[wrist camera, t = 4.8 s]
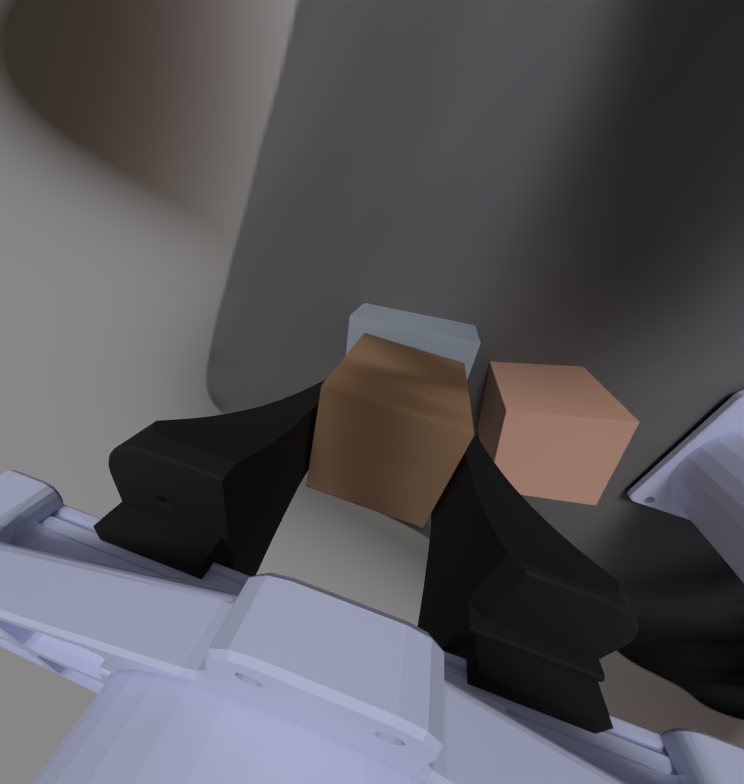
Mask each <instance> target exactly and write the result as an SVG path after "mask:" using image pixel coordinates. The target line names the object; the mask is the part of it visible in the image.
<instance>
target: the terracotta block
mask: <svg viewBox="0 0 744 784" xmlns="http://www.w3.org/2000/svg"><path fill="white" fill-rule="evenodd" d="M638 424H639V421H638V420H637V419H636V418H635V417H634V416H633V415H632V414H631V413H630V412H629V411H628V410H627V409H626V408H625V407H624V406H623V405H622V404H621V403H620V402H619V401H618V400H617V399H616V398H615V397H614V396H613V395H612V394H611V393H610V392H609V391H608V390H607V389H606V388H605V387H604V386H603V385H602V384H601V383H600V382H599V381H598V380H597V379H595V378H594V377H593V376H592V375H591V374H590V373H589V372H588V371H587V370H586V369H585V368H584V367H583V366H564V365H545V364H526V363H507V362H490V364H489V370H488V375H487V380H486V386H485V391H484V397H483V402H482V408H481V413H480V419H479V424H478V433H479V439H480V441H481V443H482V444H483V446H484V448H485V449H486V451H487V452H488V454H489V455H490V457H491V458H492V460H493V461H494V462H495V464H496V465H497V466H498V468H499V469H500V471H501V472H502V473H503V475H504V476H505V477H506V478H507V480H508V481H509V482H510V483H511V484H512V486H513V487H514V488H515V489H516V490H517V491H518V493H519V494H520V495H526V496H533V497H540V498H547V499H554V500H561V501H568V502H575V503H582V504H589V505H596V504H597V502H598V500H599V498H600V496H601V494H602V493H603V491H604V489H605V487H606V485H607V483H608V481H609V479H610V477H611V476H612V474H613V472H614V470H615V468H616V466H617V464H618V462H619V460H620V458H621V457H622V455H623V453H624V451H625V449H626V447H627V445H628V443H629V441H630V439H631V438H632V436H633V434H634V432H635V430H636V428H637V426H638Z"/></svg>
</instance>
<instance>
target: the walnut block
mask: <svg viewBox="0 0 744 784" xmlns="http://www.w3.org/2000/svg"><path fill="white" fill-rule="evenodd" d="M474 435H475V434H474V427H473V420H472V413H471V406H470V399H469V392H468V384H467V377H466V370H465V363H462V362H459V361H456V360H452V359H449V358H446V357H442V356H439V355H436V354H433V353H429V352H426V351H423V350H420V349H416V348H413V347H410V346H406V345H403V344H400V343H397V342H393V341H390V340H387V339H383V338H380V337H377V336H374V335H370V334H367V333H364V334H363V335H362V336H361V338H360V339H359V340H358V341H357V342H356V344H355V345H354V346H353V347H352V349H351V350H350V351H349V352H348V353H347V355H346V356H345V357H344V358H343V360H342V361H341V362H340V363H339V364H338V366H337V367H336V368H335V369H334V370H333V372H332V373H331V374H330V375H329V377H328V378H327V379H326V380H325V381H324V383H323V384H322V386H321V392H320V399H319V405H318V412H317V418H316V425H315V431H314V438H313V445H312V451H311V458H310V464H309V471H308V477H307V484H306V486H307V487H310V488H312V489H315V490H318V491H321V492H324V493H326V494H329V495H332V496H335V497H338V498H340V499H343V500H346V501H349V502H352V503H355V504H357V505H360V506H363V507H366V508H369V509H371V510H374V511H377V512H380V513H383V514H385V515H388V516H391V517H394V518H397V519H399V520H402V521H405V522H408V523H411V524H414V525H416V526H419V527H422V528H423V527H424V525H425V523H426V521H427V519H428V518H429V516H430V514H431V512H432V510H433V509H434V507H435V505H436V503H437V501H438V500H439V498H440V496H441V494H442V492H443V491H444V489H445V487H446V485H447V483H448V482H449V480H450V478H451V476H452V474H453V473H454V471H455V469H456V467H457V465H458V464H459V462H460V460H461V458H462V456H463V455H464V453H465V451H466V449H467V447H468V446H469V444H470V442H471V440H472V438H473V437H474Z"/></svg>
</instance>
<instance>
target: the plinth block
mask: <svg viewBox="0 0 744 784" xmlns="http://www.w3.org/2000/svg"><path fill="white" fill-rule="evenodd" d="M364 333H367V334H370V335H374V336H377V337H380V338H383V339H387V340H390V341H393V342H397V343H400V344H403V345H406V346H410V347H413V348H416V349H420V350H423V351H426V352H429V353H433V354H436V355H439V356H442V357H446V358H449V359H452V360H456V361H459V362H462V363H465V370H466V377H467V379H468V377H469V374H470V371H471V368H472V366H473V363H474V360H475V357H476V355H477V352H478V349H479V346H480V344H481V342H480V339H479V336H478V333H477V329H476V326H475V325H470V324H466V323H461V322H456V321H451V320H446V319H441V318H436V317H431V316H426V315H421V314H416V313H411V312H406V311H401V310H396V309H391V308H386V307H382V306H377V305H372V304H367V303H364V304H362V305H361V306H360V307H359V308H358V309H357V310H356V311H354V312H353V313H352V314H351V315H350V319H349V329H348V339H347V349H346V355H347V353H348V352H349V351H350V350H351V349H352V347H353V346H354V345H355V344H356V342H357V341H358V340H359V339H360V338H361V336H362V335H363V334H364Z"/></svg>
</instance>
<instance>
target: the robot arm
mask: <svg viewBox="0 0 744 784" xmlns="http://www.w3.org/2000/svg"><path fill="white" fill-rule="evenodd" d="M324 381H325V380H324ZM324 381H322V382H320V383H318V384H316V385H314V386H312V387H310V388H308V389H306V390H304V391H301V392H299V393H297V394H294V395H292V396H289V397H287V398H285V399H282V400H279V401H276V402H273V403H270V404H267V405H264V406H260V407H257V408H253V409H248V410H244V411H239V412H234V413H230V414H224V415H217V416H210V417H202V418H193V419H178V420H163V421H156V422H154V423H153V424H151V425H150V426H148V427H147V428H145V429H143V430H142V431H140V432H139V433H138V434H136V435H135V436H133V437H131V438H130V439H128V440H127V441H125V442H124V443H122V444H121V445H119V446H118V447H116V448H115V449H114V450H113V451H112V452H111V453H110V457H109V468H110V472H111V475H112V477H113V480H114V482H115V484H116V487H117V489H118V492H119V494H120V497H121V499H122V502H121V503H120V504H119V505H118V506H117V507H115V508H114V509H113V510H112V511H111V512H109V513H108V514H107V515H106V516H105V517H103V518H102V519H100V518H97V517H95V516H92V515H90V514H87V513H84V512H82V511H79V510H77V509H74V508H72V507H69V506H66V505H64V504H63V500H62V497H61V496H60V494H59V492H58V491H57V490H56V489H55V488H54V487H52V486H51V485H50V484H48V483H46V482H44V481H41V480H39V479H36V478H34V477H31V476H28V475H26V474H23V473H21V472H18V471H15V470H9V471H7V472H5V473H3V474H1V475H0V646H1V647H2V648H4V649H7V650H9V651H11V652H13V653H15V654H17V655H19V656H21V657H23V658H25V659H27V660H29V661H31V662H33V663H36V664H38V665H40V666H42V667H44V668H46V669H48V670H50V671H52V672H54V673H56V674H58V675H60V676H62V677H64V678H66V679H68V680H70V681H72V682H75V683H77V684H79V685H81V686H83V687H85V688H87V689H89V690H91V691H93V692H95V693H97V694H98V695H97V696H96V697H95V699H94V700H93V701H92V703H91V704H90V705H89V707H88V708H87V709H86V711H85V712H84V713H83V714H82V716H81V717H80V719H79V720H78V721H77V722H76V724H75V725H74V726H73V728H72V729H71V731H70V732H69V733H68V735H67V736H66V737H65V738H64V740H63V741H62V742H61V744H60V745H59V747H58V748H57V749H56V750H55V752H54V753H53V754H52V756H51V757H50V758H49V760H48V761H47V762H46V764H45V765H44V766H43V768H42V769H41V770H40V772H39V773H38V774H37V776H36V777H35V778H34V780H33V781H32V782H31V784H744V747H741V746H738V745H736V744H733V743H730V742H728V741H725V740H723V739H720V738H717V737H715V736H712V735H709V734H707V733H704V732H701V731H698V730H694V729H688V728H675V729H671V730H667V731H665V732H663V733H662V735H660V734H658V733H655V732H653V731H650V730H648V729H645V728H642V727H640V726H637V725H635V724H632V723H629V722H627V721H624V720H621V719H619V718H616V717H614V716H611V715H609V713H608V710H607V708H606V704H605V701H604V698H603V695H602V693H601V690H600V687H599V684H598V681H600V682H601V681H604V678H605V675H604V672H603V670H602V667H601V664H600V661H599V659H600V658H602V657H604V656H606V655H608V654H610V653H612V652H614V651H616V650H618V649H620V648H622V647H624V646H626V645H627V644H628V643H630V642H631V641H633V639H634V638H635V636H636V634H637V632H638V631H639V627H638V621H637V619H636V617H635V615H634V612H633V610H632V608H631V606H630V604H629V602H628V600H627V598H626V596H625V594H624V592H623V590H622V588H621V586H620V584H619V582H618V580H616V579H615V578H614V577H613V576H611V575H610V574H609V573H607V572H606V571H605V570H604V569H602V568H601V567H600V566H598V565H597V564H596V563H595V562H593V561H592V560H591V559H590V558H588V557H587V556H586V555H584V554H583V553H582V552H581V551H579V550H578V549H577V548H576V547H575V546H573V545H572V544H571V543H570V542H569V541H568V540H567V539H565V538H564V537H563V536H562V535H561V534H560V533H558V532H557V531H556V530H555V529H554V528H553V527H552V526H551V525H550V524H549V523H548V522H547V521H545V520H544V519H543V518H542V517H541V516H540V515H539V514H538V513H537V512H536V511H535V510H534V509H533V508H532V507H531V506H530V505H529V503H528V502H527V501H526V500H525V499H524V498H523V497H522V496H521V495H520V494H519V493H518V491H517V490H516V489H515V488H514V487H513V486H512V484H511V483H510V482H509V481H508V480H507V478H506V477H505V476H504V475H503V473H502V472H501V471H500V469H499V468H498V466H497V465H496V464H495V462H494V461H493V460H492V458H491V457H490V455H489V454H488V452H487V451H486V449H485V448H484V446H483V444H482V443H481V441H480V440H479V438H478V436H477V435H476V433H475V432H474V434H475V435H474V437H473V438H472V440H471V442H470V444H469V446H468V447H467V449H466V451H465V453H464V455H463V456H462V458H461V460H460V462H459V464H458V465H457V467H456V469H455V471H454V473H453V474H452V476H451V478H450V480H449V482H448V483H447V485H446V487H445V489H444V491H443V492H442V494H441V496H440V498H439V500H438V501H437V503H436V505H435V507H434V509H433V510H432V512H431V534H430V543H429V552H428V560H427V567H426V575H425V582H424V589H423V596H422V603H421V610H420V616H419V622H418V627H417V626H415V625H413V624H411V623H409V622H407V621H405V620H403V619H400V618H397V617H395V616H392V615H389V614H387V613H384V612H382V611H379V610H376V609H374V608H371V607H368V606H366V605H363V604H360V603H358V602H355V601H353V600H350V599H347V598H345V597H342V596H340V595H337V594H334V593H332V592H329V591H326V590H324V589H321V588H319V587H316V586H313V585H311V584H308V583H305V582H303V581H300V580H297V579H294V578H291V577H287V576H282V575H278V574H274V573H268V574H260V575H256V573H257V571H258V569H259V567H260V565H261V562H262V560H263V558H264V556H265V554H266V551H267V549H268V547H269V545H270V543H271V541H272V539H273V537H274V535H275V533H276V530H277V528H278V526H279V524H280V522H281V520H282V518H283V516H284V514H285V512H286V510H287V508H288V506H289V504H290V502H291V500H292V498H293V496H294V494H295V492H296V490H297V488H298V486H299V484H300V483H301V481H302V479H303V478H304V476H305V474H306V473H307V471H308V470H309V464H310V458H311V451H312V445H313V438H314V431H315V425H316V418H317V412H318V405H319V399H320V392H321V386H322V384H323V383H324ZM628 496H629V497H630V499H631V500H632V501H634V502H636V503H639V504H643V505H646V506H649V507H652V508H655V509H658V510H661V511H664V512H667V513H670V514H673V515H676V516H680V517H683V518H686V519H689V520H691V521H692V522H693V523H694V525H695V526H696V527H697V528H698V529H699V531H700V532H701V533H702V534H703V535H704V536H705V538H706V539H707V540H708V541H709V542H710V544H711V545H712V546H713V547H714V548H715V549H716V551H717V552H718V553H719V554H720V555H721V557H722V558H723V559H724V560H725V561H726V562H727V564H728V565H729V566H730V567H731V568H732V570H733V571H734V572H735V573H736V574H737V576H738V577H739V578H740V579H741V580H742V581H743V583H744V390H742V391H740V392H737V393H736V394H734V395H733V396H732V397H731V398H730V399H728V400H727V401H726V402H725V403H724V404H723V405H722V406H721V407H720V408H719V409H718V410H716V411H715V412H714V413H713V414H712V415H711V416H710V417H709V418H708V419H707V420H705V421H704V422H703V423H702V424H701V425H700V426H699V427H698V428H697V429H696V430H694V431H693V432H692V433H691V434H690V435H689V436H688V437H687V438H686V439H685V440H683V441H682V442H681V443H680V444H679V445H678V446H677V447H676V448H675V449H674V450H672V451H671V452H670V453H669V454H668V455H667V456H666V457H665V458H664V459H663V460H661V461H660V462H659V463H658V464H657V465H656V466H655V467H654V468H653V469H652V470H651V471H649V472H648V473H647V474H646V475H645V476H644V477H643V478H642V479H641V480H640V481H638V482H637V483H636V484H635V485H634V486H633V487H632V488H631V489H630V490H629V491H628ZM647 497H648V498H647Z"/></svg>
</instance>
